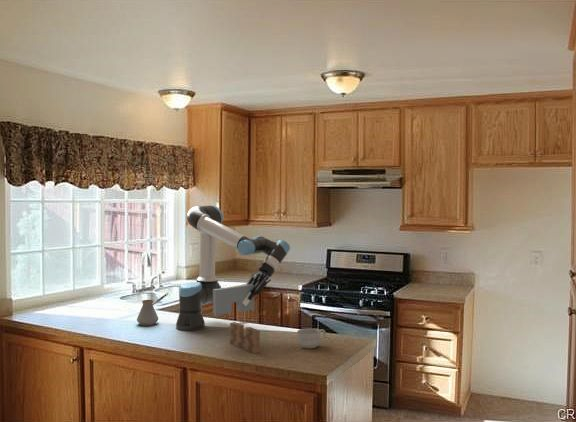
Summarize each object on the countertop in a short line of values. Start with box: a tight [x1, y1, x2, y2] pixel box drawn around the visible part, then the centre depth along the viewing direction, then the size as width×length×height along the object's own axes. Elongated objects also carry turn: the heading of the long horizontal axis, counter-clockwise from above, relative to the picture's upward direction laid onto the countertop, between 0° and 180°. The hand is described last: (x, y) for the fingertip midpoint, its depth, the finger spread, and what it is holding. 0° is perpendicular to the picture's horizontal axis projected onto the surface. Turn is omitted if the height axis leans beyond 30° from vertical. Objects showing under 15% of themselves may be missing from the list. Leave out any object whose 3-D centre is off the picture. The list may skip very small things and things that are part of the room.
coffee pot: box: [136, 292, 171, 327], centre depth 304 cm, size 21×12×15 cm, turn 146°
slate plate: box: [212, 284, 255, 317], centre depth 262 cm, size 2×22×12 cm, turn 130°
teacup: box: [297, 327, 327, 349], centre depth 257 cm, size 14×11×8 cm
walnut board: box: [229, 321, 261, 354], centre depth 255 cm, size 20×2×10 cm, turn 40°
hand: (242, 303), depth 265 cm, fingers closed on slate plate, 2 cm apart
